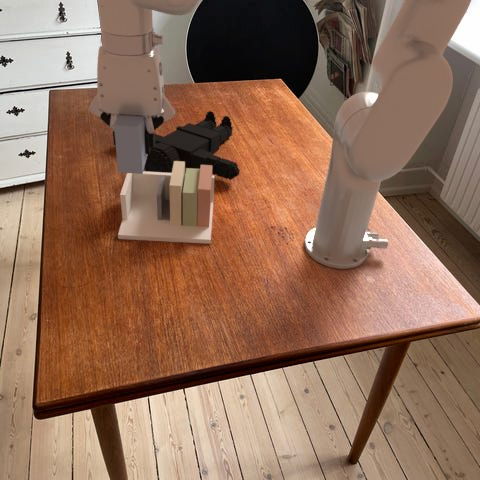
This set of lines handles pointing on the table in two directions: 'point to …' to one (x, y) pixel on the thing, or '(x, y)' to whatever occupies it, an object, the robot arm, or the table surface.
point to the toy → (193, 148)
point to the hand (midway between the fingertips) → (134, 148)
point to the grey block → (130, 143)
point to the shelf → (168, 205)
